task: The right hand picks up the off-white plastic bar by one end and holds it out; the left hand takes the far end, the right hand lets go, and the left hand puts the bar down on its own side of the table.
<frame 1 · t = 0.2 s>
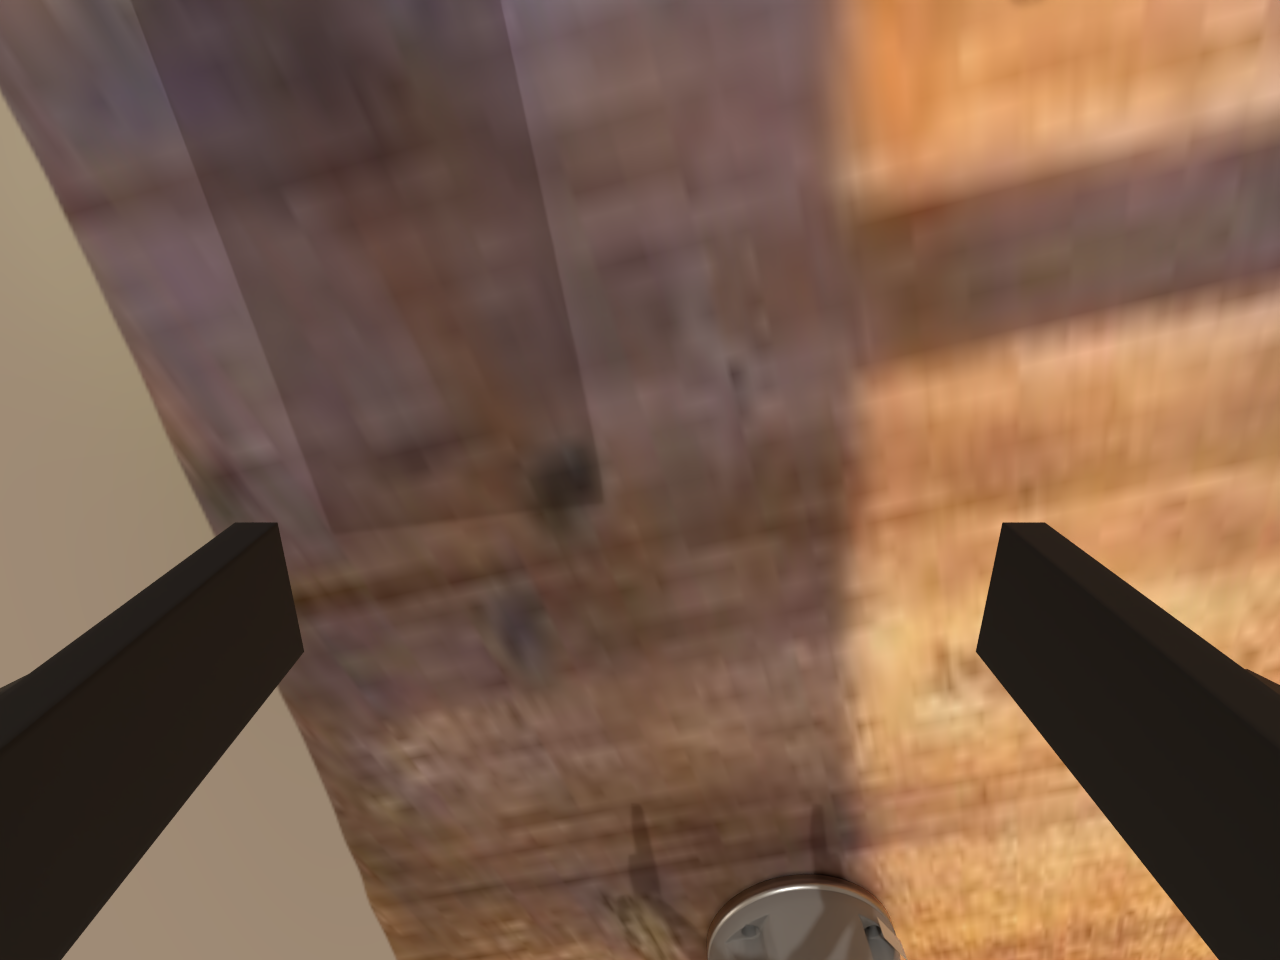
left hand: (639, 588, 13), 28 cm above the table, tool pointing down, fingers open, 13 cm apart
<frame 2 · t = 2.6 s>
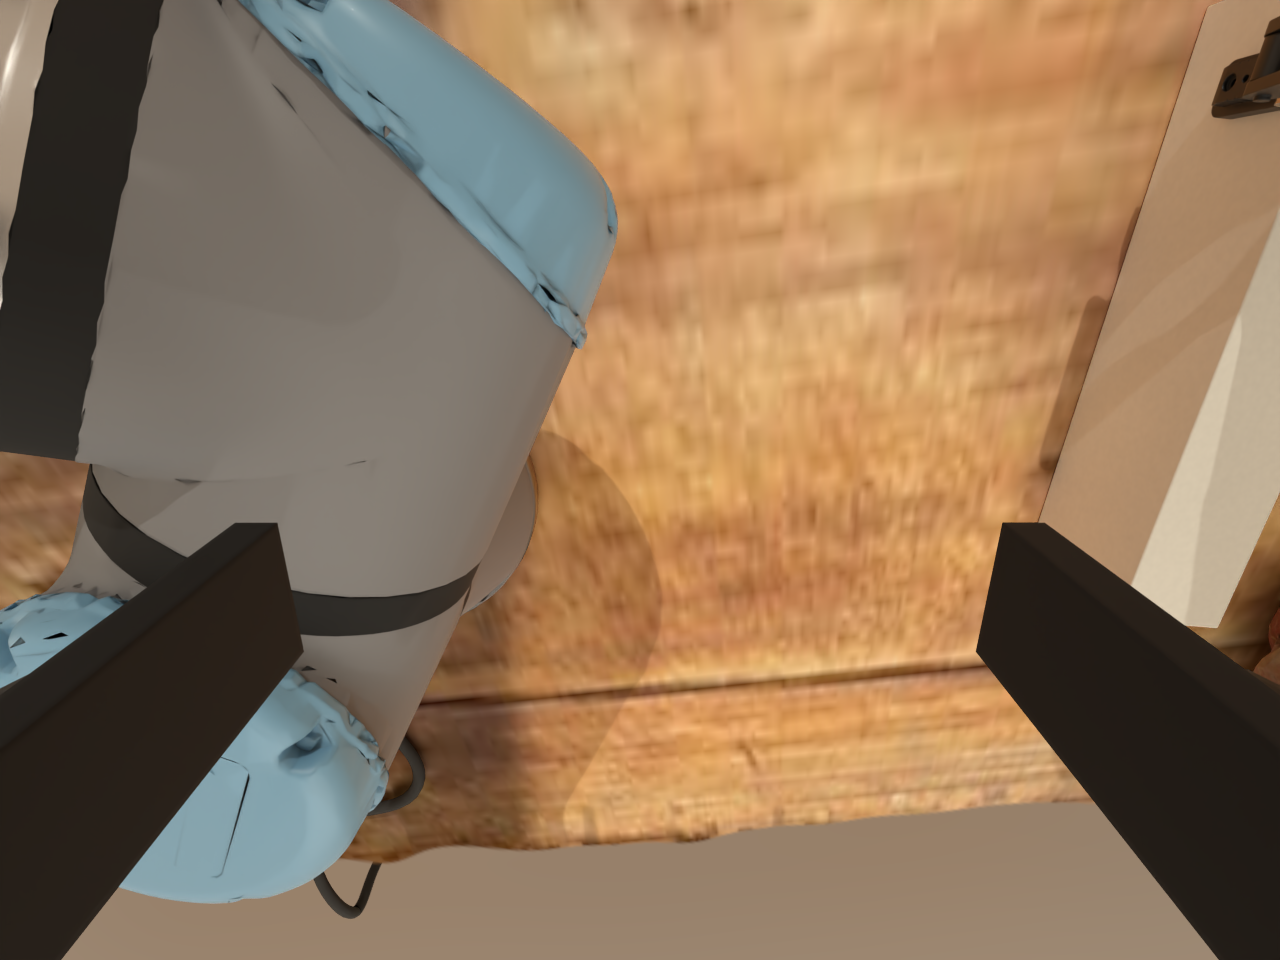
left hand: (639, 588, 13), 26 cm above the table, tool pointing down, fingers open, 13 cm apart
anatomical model: (1272, 653, 43), on the table
bar: (1152, 317, 36), on the table, touching right hand
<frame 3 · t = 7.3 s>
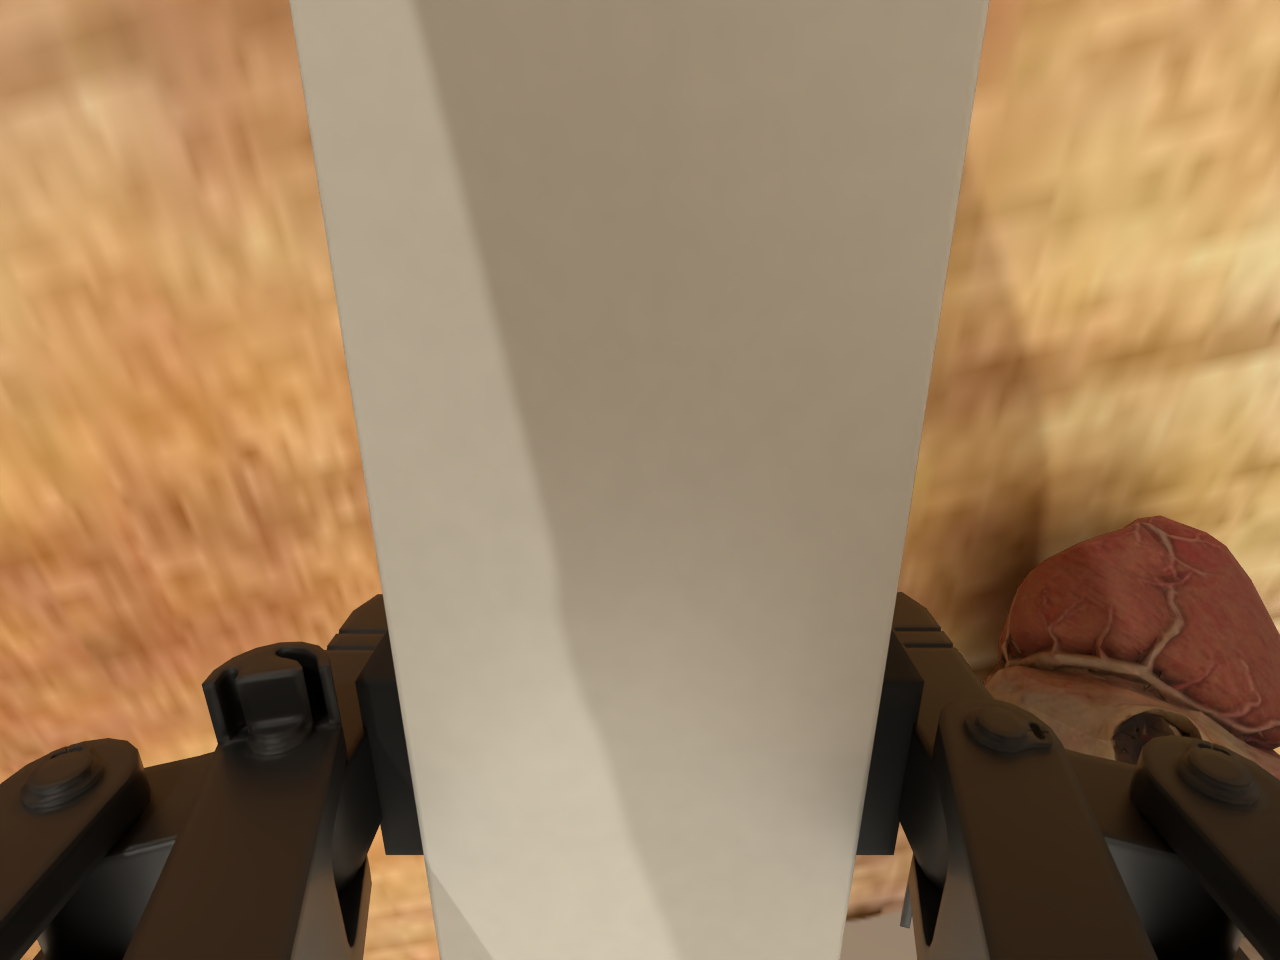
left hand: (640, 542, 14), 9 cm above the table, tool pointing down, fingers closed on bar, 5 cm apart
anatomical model: (1037, 677, 26), on the table
when the right hand's fingers open (11 cm above the table, at t = 8.2 s): bar stays where it is, held by the left hand.
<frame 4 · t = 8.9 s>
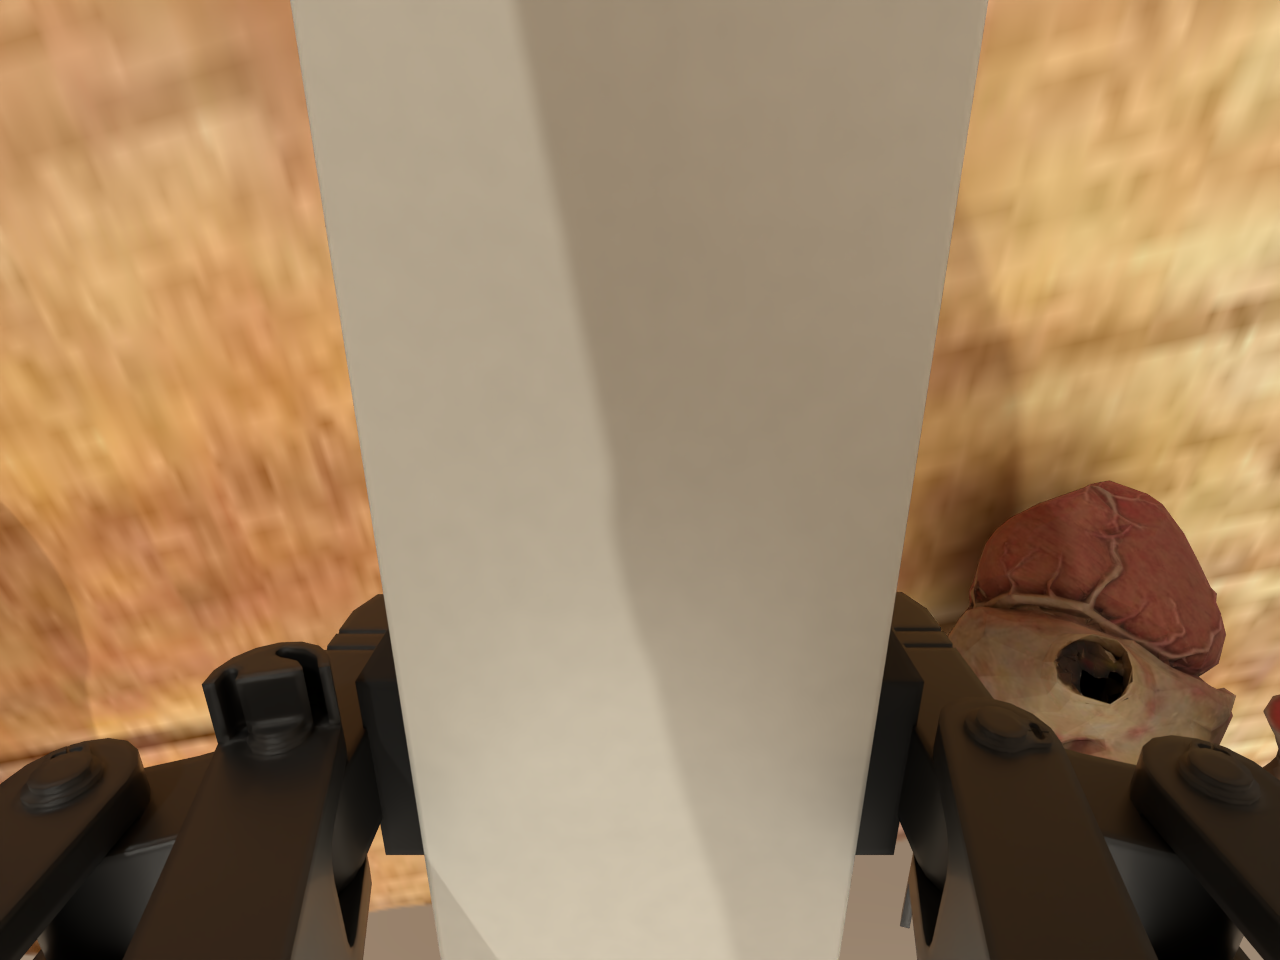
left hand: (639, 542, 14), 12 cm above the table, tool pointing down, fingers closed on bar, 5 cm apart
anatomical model: (1008, 629, 29), on the table
when the left hand's fingers open (2 cm above the table, at t = 15.1 s): bar drops 1 cm, on the table.
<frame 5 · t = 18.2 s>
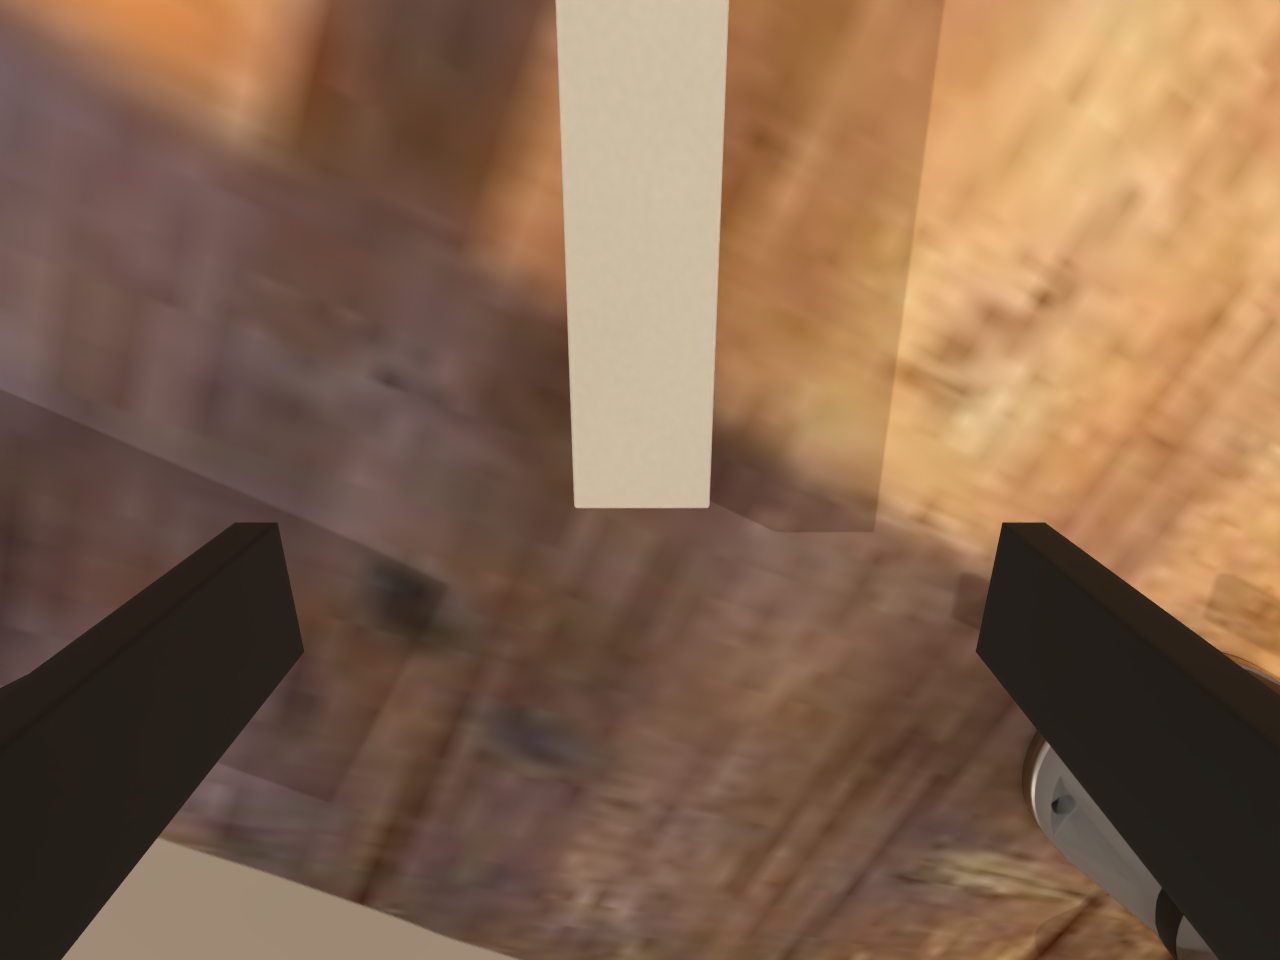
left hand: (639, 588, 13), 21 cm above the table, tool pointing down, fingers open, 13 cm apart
bar: (641, 126, 28), on the table
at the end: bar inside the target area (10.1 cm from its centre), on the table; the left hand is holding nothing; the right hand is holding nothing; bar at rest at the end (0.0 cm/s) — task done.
